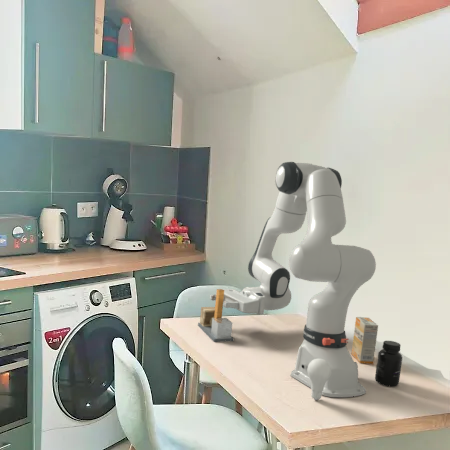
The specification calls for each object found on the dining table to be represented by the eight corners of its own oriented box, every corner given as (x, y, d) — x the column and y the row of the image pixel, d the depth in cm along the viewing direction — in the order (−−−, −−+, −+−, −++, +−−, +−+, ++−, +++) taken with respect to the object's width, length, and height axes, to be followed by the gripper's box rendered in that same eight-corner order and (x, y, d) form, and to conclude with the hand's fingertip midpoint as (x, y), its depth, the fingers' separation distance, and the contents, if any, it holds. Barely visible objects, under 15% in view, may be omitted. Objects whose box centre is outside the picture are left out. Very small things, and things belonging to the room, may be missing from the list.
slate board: (233, 341, 178) (233, 338, 178) (213, 341, 175) (214, 339, 175) (215, 325, 194) (216, 322, 194) (197, 325, 192) (198, 322, 192)
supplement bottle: (400, 389, 150) (405, 348, 149) (375, 385, 151) (380, 344, 150) (397, 380, 157) (402, 341, 155) (373, 376, 158) (378, 337, 157)
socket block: (218, 326, 190) (220, 310, 189) (203, 326, 188) (204, 310, 187) (215, 322, 194) (216, 306, 193) (199, 323, 191) (201, 307, 191)
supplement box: (350, 354, 176) (355, 316, 174) (364, 355, 176) (369, 317, 175) (359, 363, 168) (364, 323, 166) (373, 364, 168) (378, 324, 167)
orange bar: (228, 335, 178) (232, 294, 176) (218, 335, 176) (222, 294, 175) (218, 326, 187) (222, 287, 185) (209, 326, 186) (212, 287, 184)
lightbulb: (325, 406, 134) (330, 365, 132) (302, 401, 136) (306, 360, 134) (329, 397, 139) (333, 357, 138) (306, 392, 141) (310, 353, 140)
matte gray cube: (231, 338, 177) (232, 322, 177) (216, 338, 176) (218, 323, 175) (225, 332, 183) (226, 317, 182) (211, 333, 181) (212, 318, 180)
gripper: (236, 283, 197) (204, 285, 190) (267, 297, 180) (233, 299, 173) (234, 300, 198) (202, 302, 191) (265, 315, 181) (231, 318, 173)
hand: (217, 301), depth 182 cm, fingers open, 8 cm apart
